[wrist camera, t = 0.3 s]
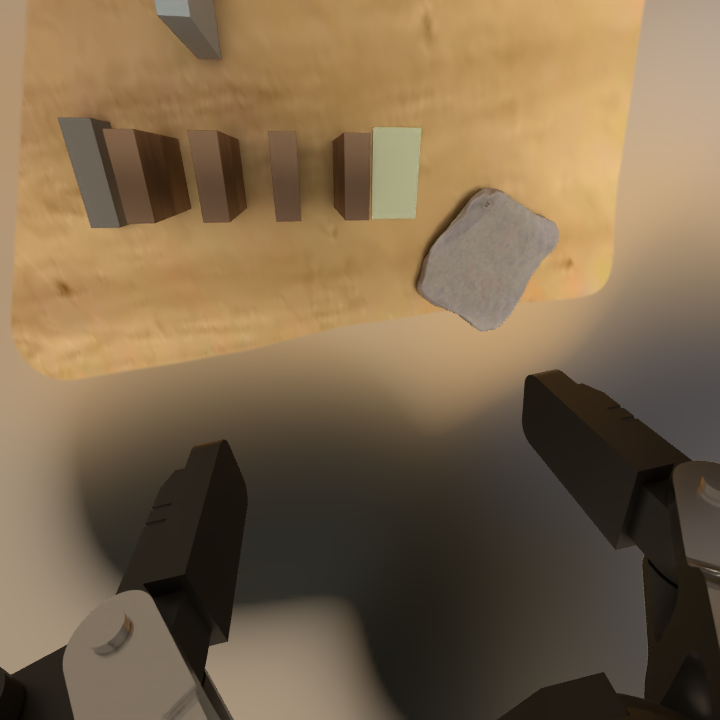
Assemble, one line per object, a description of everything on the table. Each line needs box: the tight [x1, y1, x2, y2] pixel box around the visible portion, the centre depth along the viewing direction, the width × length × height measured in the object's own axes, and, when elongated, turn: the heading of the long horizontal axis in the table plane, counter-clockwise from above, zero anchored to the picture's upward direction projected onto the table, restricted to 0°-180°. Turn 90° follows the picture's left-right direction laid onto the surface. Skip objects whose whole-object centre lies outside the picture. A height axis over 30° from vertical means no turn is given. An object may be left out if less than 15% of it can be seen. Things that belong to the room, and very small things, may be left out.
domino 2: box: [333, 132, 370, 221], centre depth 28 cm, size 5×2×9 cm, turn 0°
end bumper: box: [57, 117, 129, 228], centre depth 28 cm, size 7×2×3 cm, turn 0°
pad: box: [371, 127, 421, 219], centre depth 32 cm, size 7×4×1 cm, turn 0°
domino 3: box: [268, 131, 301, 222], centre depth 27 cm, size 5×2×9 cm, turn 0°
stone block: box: [417, 188, 559, 331], centre depth 36 cm, size 12×5×10 cm
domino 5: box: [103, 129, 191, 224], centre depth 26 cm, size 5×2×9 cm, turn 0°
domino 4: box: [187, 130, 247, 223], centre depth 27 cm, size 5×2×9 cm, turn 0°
